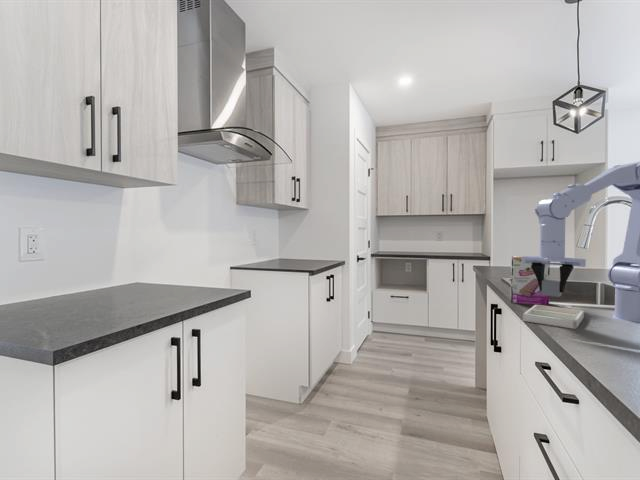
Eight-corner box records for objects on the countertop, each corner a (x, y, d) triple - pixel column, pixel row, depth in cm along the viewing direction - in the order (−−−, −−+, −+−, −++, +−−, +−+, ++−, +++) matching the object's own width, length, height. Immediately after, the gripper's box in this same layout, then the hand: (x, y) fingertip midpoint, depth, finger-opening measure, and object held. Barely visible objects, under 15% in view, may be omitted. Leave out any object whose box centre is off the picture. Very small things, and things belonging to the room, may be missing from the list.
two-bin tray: (535, 312, 107) (535, 304, 107) (583, 319, 99) (583, 310, 98) (522, 322, 96) (523, 313, 96) (576, 331, 88) (576, 321, 88)
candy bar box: (510, 304, 118) (511, 257, 117) (510, 301, 122) (510, 255, 122) (549, 307, 113) (550, 257, 112) (547, 304, 117) (548, 256, 117)
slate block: (544, 292, 98) (545, 278, 98) (561, 294, 95) (562, 280, 95) (541, 295, 95) (541, 280, 95) (559, 296, 92) (559, 282, 92)
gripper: (518, 241, 96) (518, 289, 97) (583, 243, 86) (582, 296, 87) (525, 240, 101) (524, 286, 102) (587, 241, 91) (586, 292, 92)
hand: (551, 291), depth 95 cm, fingers closed on slate block, 4 cm apart
